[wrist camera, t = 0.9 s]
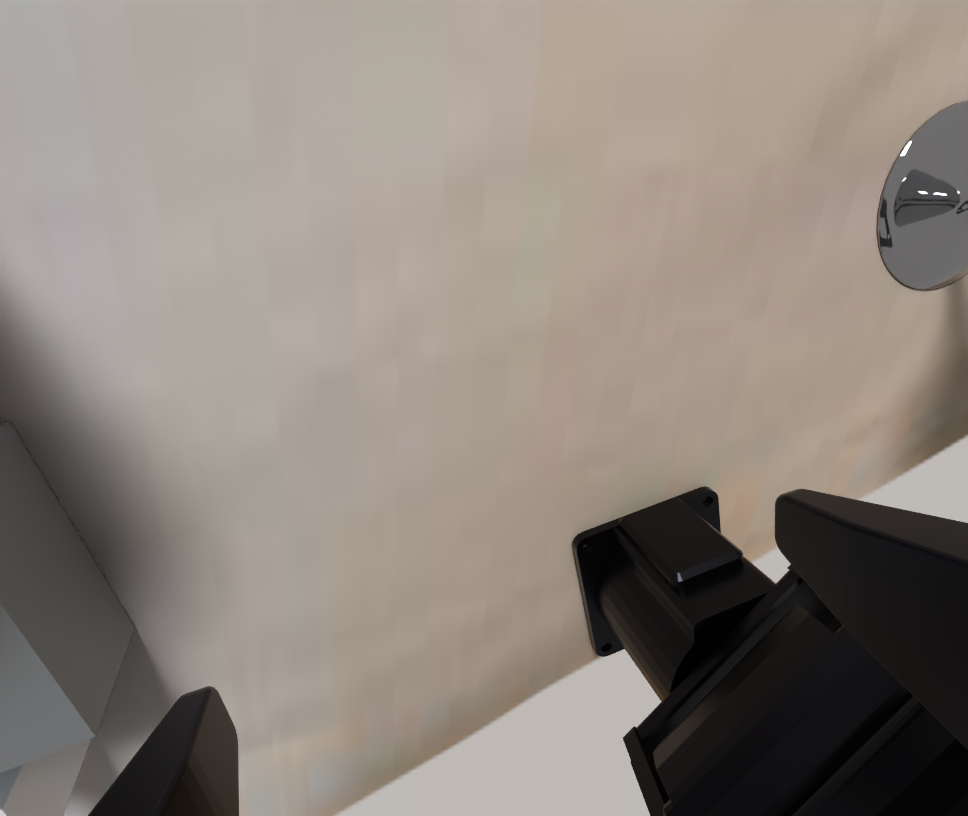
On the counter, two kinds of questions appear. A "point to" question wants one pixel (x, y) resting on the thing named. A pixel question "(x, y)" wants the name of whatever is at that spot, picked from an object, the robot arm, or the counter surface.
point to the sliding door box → (50, 619)
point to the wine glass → (928, 204)
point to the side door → (42, 783)
